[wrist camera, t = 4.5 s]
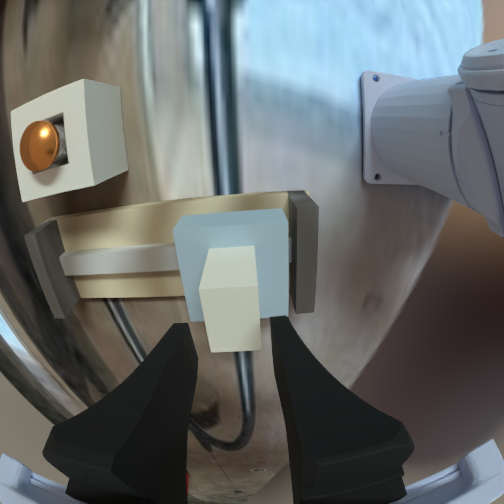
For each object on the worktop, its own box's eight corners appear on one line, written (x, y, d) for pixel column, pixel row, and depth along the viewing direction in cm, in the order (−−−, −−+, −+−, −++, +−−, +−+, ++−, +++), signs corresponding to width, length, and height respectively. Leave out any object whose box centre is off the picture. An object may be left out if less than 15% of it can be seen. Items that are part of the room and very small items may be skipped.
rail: (306, 190, 19) (322, 206, 15) (305, 281, 22) (316, 311, 18) (51, 217, 19) (22, 236, 15) (74, 291, 22) (53, 318, 18)
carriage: (282, 208, 17) (303, 255, 11) (283, 293, 19) (298, 363, 13) (181, 215, 17) (150, 265, 11) (196, 299, 19) (180, 368, 13)
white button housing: (120, 87, 15) (83, 78, 11) (128, 170, 18) (94, 185, 13) (53, 109, 15) (10, 111, 11) (62, 183, 18) (22, 202, 13)
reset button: (98, 113, 15) (51, 114, 10) (102, 152, 17) (57, 165, 11) (67, 123, 15) (17, 129, 10) (71, 160, 17) (23, 176, 11)
